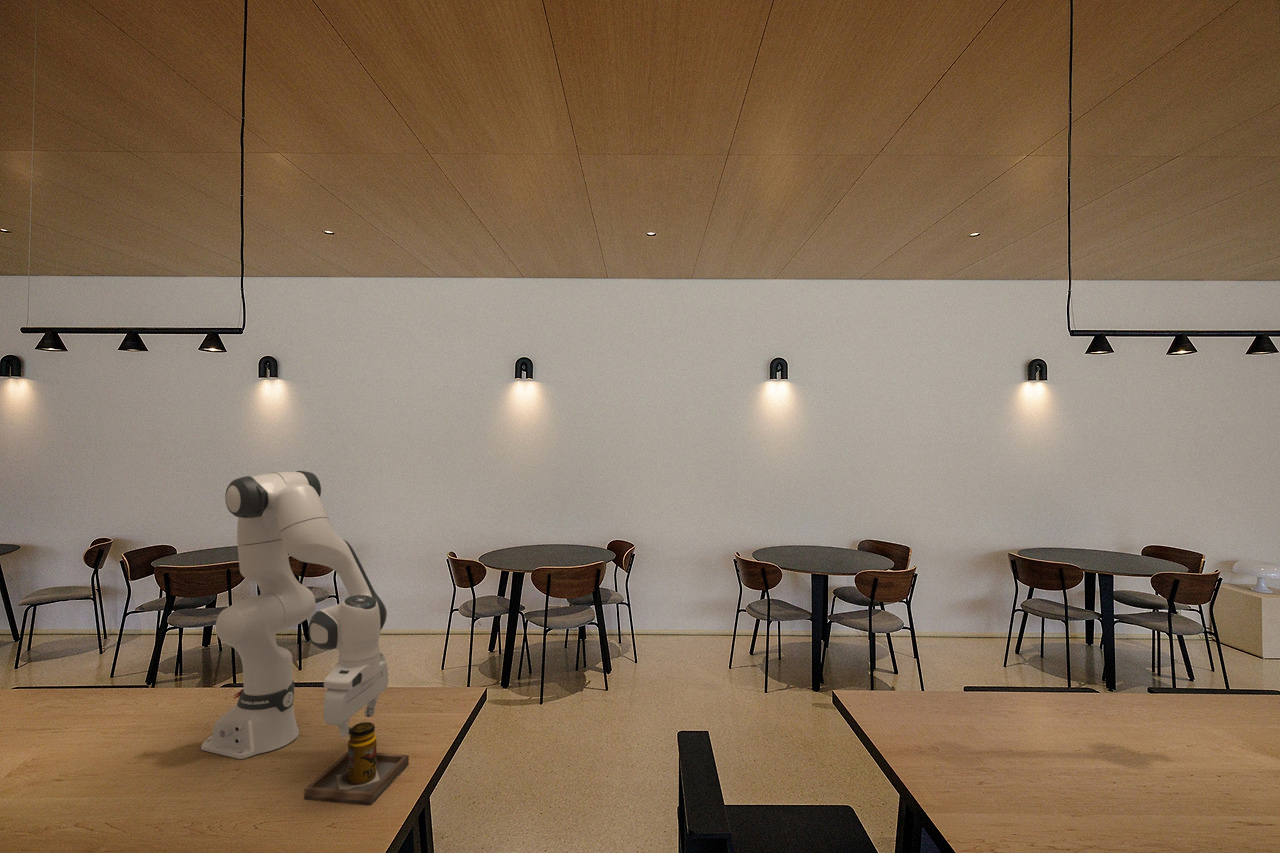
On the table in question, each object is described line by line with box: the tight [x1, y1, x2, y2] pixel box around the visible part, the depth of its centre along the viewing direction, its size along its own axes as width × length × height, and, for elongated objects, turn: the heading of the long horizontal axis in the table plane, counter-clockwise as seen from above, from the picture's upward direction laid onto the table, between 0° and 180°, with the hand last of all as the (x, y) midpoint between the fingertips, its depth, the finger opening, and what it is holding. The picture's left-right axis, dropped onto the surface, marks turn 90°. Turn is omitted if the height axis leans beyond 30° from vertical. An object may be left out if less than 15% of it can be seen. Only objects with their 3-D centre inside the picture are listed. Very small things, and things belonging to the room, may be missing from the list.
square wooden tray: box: [303, 751, 410, 806], centre depth 139 cm, size 16×16×2 cm
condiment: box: [336, 721, 380, 790], centre depth 139 cm, size 7×8×12 cm
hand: (358, 725), depth 140 cm, fingers open, 8 cm apart
